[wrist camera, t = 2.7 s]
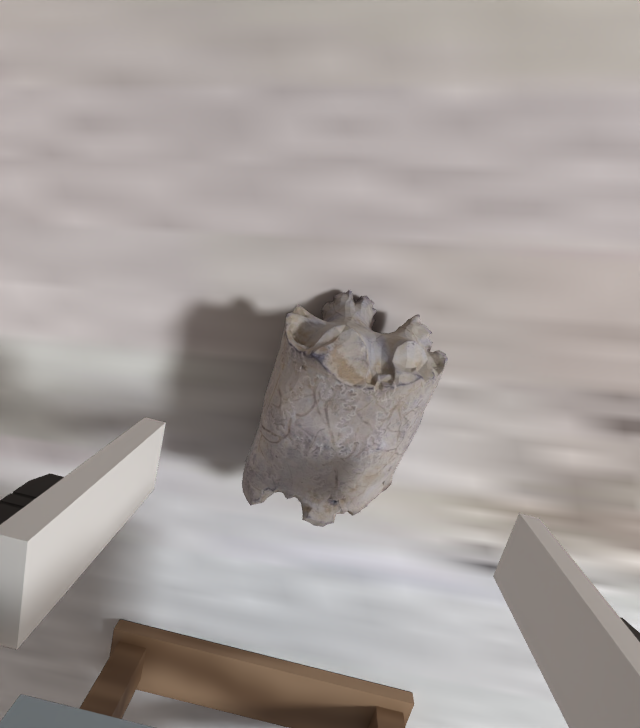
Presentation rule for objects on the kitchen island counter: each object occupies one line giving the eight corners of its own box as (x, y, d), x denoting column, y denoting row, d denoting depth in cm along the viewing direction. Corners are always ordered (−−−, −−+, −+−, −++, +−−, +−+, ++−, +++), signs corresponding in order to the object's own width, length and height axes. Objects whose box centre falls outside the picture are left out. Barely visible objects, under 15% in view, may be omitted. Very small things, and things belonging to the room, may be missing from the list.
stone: (250, 458, 26) (220, 524, 20) (305, 276, 23) (293, 282, 17) (368, 494, 27) (379, 572, 20) (437, 319, 24) (477, 342, 17)
